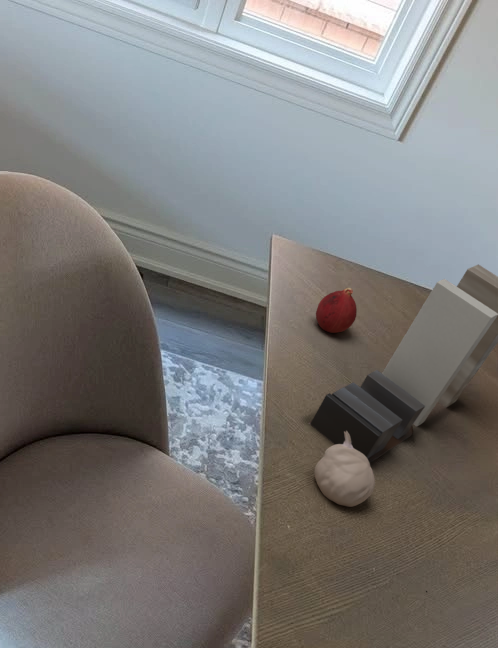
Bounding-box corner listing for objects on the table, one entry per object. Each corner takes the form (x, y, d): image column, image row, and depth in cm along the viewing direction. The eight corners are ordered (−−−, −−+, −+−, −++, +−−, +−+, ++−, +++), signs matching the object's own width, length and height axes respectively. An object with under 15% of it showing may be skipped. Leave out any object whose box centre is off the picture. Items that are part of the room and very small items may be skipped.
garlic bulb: (354, 481, 93) (384, 434, 87) (363, 520, 88) (396, 473, 83) (304, 471, 92) (331, 423, 86) (311, 510, 87) (340, 462, 82)
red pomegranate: (314, 342, 113) (337, 296, 107) (303, 319, 117) (324, 274, 111) (348, 346, 115) (373, 301, 109) (336, 323, 118) (359, 279, 113)
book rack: (404, 372, 113) (474, 261, 100) (455, 409, 110) (534, 299, 96) (304, 427, 98) (371, 304, 85) (359, 472, 94) (438, 351, 81)
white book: (377, 388, 107) (444, 278, 94) (423, 422, 103) (498, 313, 91) (370, 392, 105) (437, 281, 93) (416, 427, 102) (491, 317, 90)
